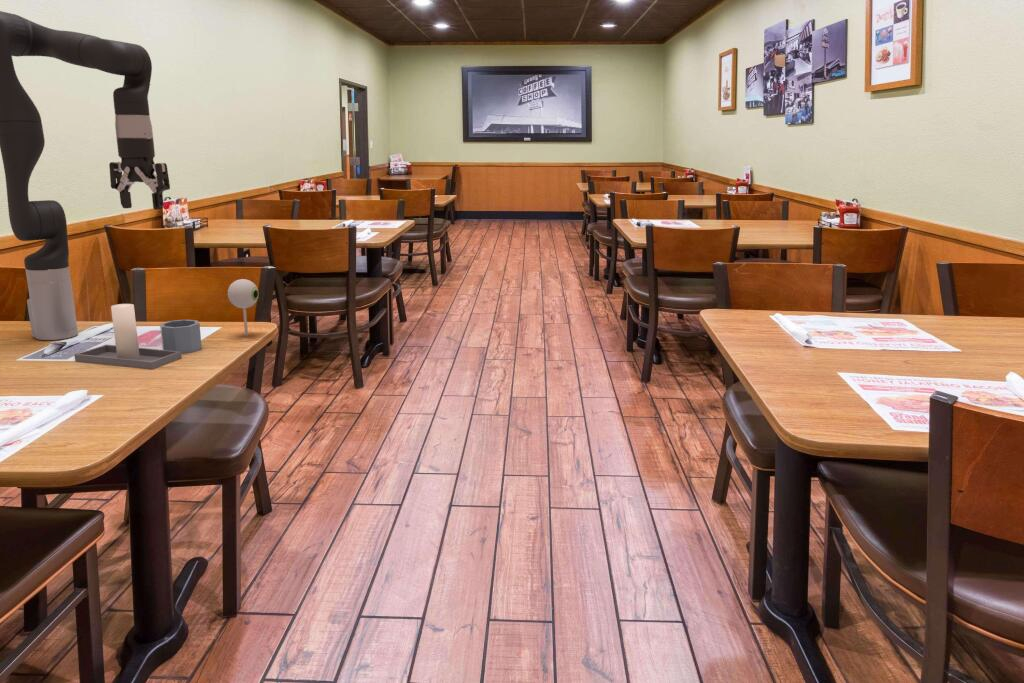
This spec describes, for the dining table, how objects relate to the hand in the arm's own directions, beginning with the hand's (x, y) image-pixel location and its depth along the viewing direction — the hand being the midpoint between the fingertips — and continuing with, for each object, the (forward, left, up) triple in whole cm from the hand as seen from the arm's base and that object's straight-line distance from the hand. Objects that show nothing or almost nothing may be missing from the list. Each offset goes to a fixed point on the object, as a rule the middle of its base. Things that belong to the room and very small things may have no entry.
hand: (142, 208), depth 179 cm
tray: (+7, -17, -32) cm, 37 cm away
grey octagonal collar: (+12, -6, -32) cm, 35 cm away
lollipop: (+18, +10, -32) cm, 38 cm away
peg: (+7, -17, -31) cm, 36 cm away
